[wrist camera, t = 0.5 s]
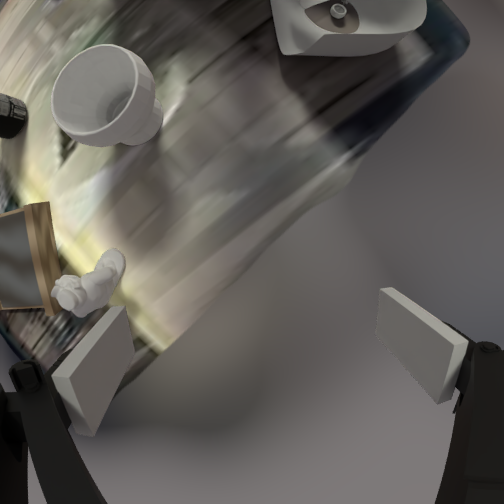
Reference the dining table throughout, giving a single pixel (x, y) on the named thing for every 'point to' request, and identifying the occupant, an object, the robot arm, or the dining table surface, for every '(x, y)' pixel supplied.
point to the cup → (106, 98)
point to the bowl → (354, 44)
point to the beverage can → (11, 116)
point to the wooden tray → (28, 259)
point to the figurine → (90, 285)
